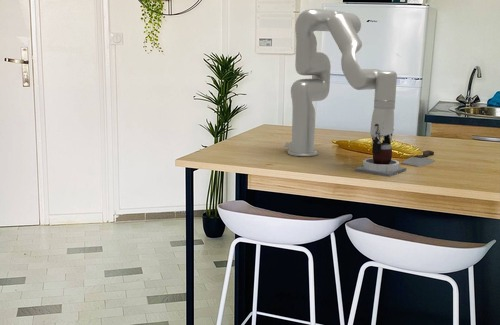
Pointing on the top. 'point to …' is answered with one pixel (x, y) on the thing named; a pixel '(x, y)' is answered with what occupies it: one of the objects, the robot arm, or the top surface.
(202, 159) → the top surface
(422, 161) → the cleaver
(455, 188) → the top surface
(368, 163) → the housing
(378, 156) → the mate gourd
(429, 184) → the top surface
